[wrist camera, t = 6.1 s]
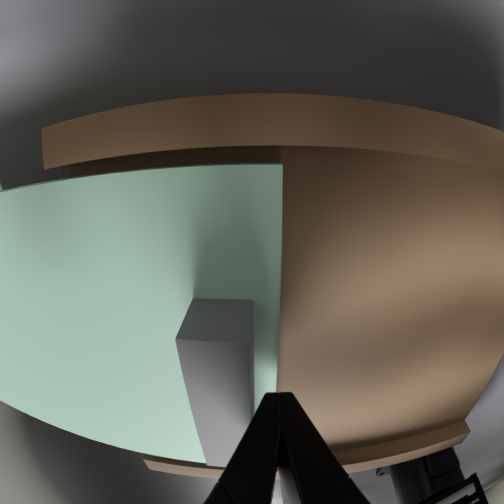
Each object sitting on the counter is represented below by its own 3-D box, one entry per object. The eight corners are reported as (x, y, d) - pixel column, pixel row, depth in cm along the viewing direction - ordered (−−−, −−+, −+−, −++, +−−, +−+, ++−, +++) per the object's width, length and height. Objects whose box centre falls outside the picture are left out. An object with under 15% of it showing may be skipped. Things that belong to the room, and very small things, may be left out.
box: (435, 390, 16) (461, 442, 11) (168, 405, 16) (149, 469, 12) (497, 145, 10) (568, 160, 5) (117, 127, 11) (41, 128, 6)
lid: (270, 453, 12) (270, 497, 9) (3, 392, 13) (-14, 415, 10) (280, 162, 7) (288, 172, 5) (-67, 209, 8) (-98, 224, 6)
